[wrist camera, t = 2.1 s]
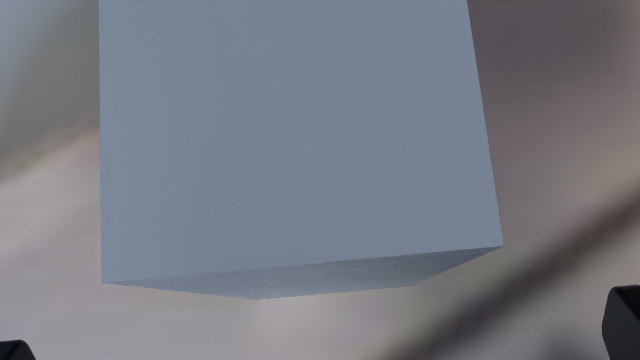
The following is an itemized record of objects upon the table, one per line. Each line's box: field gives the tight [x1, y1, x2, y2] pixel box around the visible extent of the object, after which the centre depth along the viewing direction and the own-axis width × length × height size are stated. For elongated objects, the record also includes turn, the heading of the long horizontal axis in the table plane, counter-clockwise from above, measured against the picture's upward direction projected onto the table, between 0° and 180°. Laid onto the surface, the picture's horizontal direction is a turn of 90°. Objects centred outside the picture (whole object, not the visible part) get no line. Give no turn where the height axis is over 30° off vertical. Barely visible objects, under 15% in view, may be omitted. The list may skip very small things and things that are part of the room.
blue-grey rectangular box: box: [99, 0, 504, 300], centre depth 14 cm, size 5×5×12 cm
